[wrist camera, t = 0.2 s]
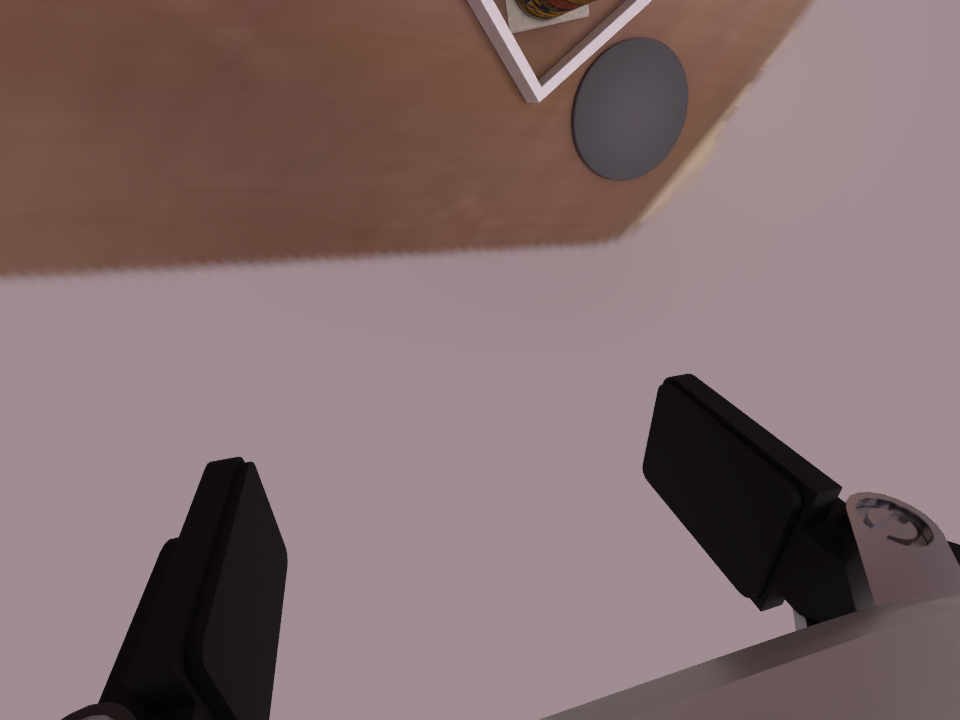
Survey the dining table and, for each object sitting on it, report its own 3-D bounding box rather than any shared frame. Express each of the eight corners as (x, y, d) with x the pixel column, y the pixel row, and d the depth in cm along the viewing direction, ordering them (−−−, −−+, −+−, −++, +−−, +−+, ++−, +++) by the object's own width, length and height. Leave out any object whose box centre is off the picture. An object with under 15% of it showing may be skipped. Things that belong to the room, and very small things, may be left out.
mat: (549, 100, 41) (552, 100, 41) (654, 6, 40) (659, 4, 39) (606, 204, 48) (610, 205, 47) (698, 125, 46) (704, 125, 45)
